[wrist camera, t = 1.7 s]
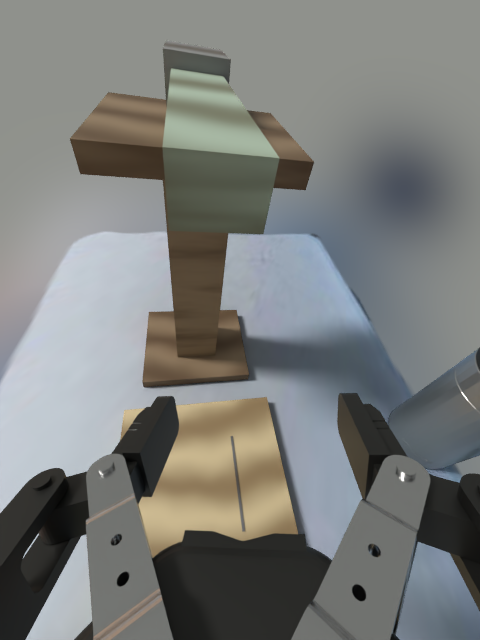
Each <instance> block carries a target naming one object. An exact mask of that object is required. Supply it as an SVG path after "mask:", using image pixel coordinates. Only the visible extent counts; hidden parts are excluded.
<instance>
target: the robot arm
mask: <svg viewBox="0 0 480 640" xmlns="http://www.w3.org/2000/svg"><path fill="white" fill-rule="evenodd" d="M337 422H338V430H339V434H340V437H341V440H342V443H343V445H344V448H345V451H346V454H347V456H348V459H349V462H350V465H351V468H352V470H353V473H354V476H355V479H356V481H357V484H358V487H359V490H360V492H361V495H362V498H363V499H362V500H361V501H360V503H359V505H358V507H357V509H356V511H355V513H354V516H353V518H352V520H351V522H350V524H349V526H348V528H347V530H346V533H345V535H344V537H343V539H342V541H341V543H340V545H339V547H338V550H337V552H336V554H335V556H334V558H333V560H331V559H330V558H328V557H327V556H326V555H324V554H322V553H321V552H319V551H317V550H315V549H313V548H310V547H308V546H306V542H305V534H279V533H273V534H269V535H266V536H262V537H258V538H254V539H250V540H246V541H241V540H237V539H235V538H232V537H229V536H226V535H223V534H220V533H217V532H214V531H196V530H185V532H184V536H183V540H182V542H178V543H176V544H173V545H171V546H169V547H167V548H165V549H164V550H162V551H161V552H159V553H158V554H157V555H156V556H154V557H153V555H152V552H151V548H150V545H149V541H148V538H147V534H146V530H145V527H144V523H143V519H142V516H141V512H140V509H139V502H140V500H141V498H142V497H152V496H153V493H154V491H155V488H156V486H157V483H158V481H159V479H160V476H161V474H162V471H163V469H164V466H165V464H166V462H167V459H168V457H169V454H170V452H171V450H172V447H173V445H174V442H175V440H176V437H177V435H178V431H179V419H178V414H177V409H176V404H175V399H174V397H173V396H162V397H157V398H156V399H155V401H154V403H153V404H152V406H151V407H146V408H145V409H144V410H143V411H141V412H140V413H139V414H138V415H137V417H136V418H135V420H134V421H133V424H131V426H130V427H129V429H128V430H127V432H126V433H125V434H124V436H123V437H122V439H121V440H120V442H119V443H118V445H117V446H116V448H115V449H114V451H113V452H112V454H110V455H107V456H104V457H102V458H100V459H99V460H97V461H96V462H95V463H94V464H92V466H91V467H90V468H89V470H88V471H87V472H84V473H80V474H76V475H73V476H69V477H66V475H65V473H64V471H63V470H62V469H60V468H53V469H49V470H46V471H43V472H41V473H39V474H38V475H36V476H35V477H33V478H32V479H31V480H29V481H28V482H27V483H26V484H25V486H24V487H23V488H22V489H21V490H20V491H19V493H18V494H17V495H16V496H15V497H14V498H13V499H12V501H11V502H10V503H9V504H8V505H7V506H6V508H5V509H4V510H3V511H2V512H1V513H0V640H25V639H26V637H27V636H28V634H29V632H30V630H31V628H32V626H33V624H34V623H35V621H36V619H37V617H38V615H39V613H40V611H41V610H42V608H43V606H44V604H45V602H46V600H47V598H48V597H49V595H50V593H51V591H52V589H53V587H54V585H55V583H56V582H57V580H58V578H59V576H60V574H61V572H62V570H63V569H64V567H65V565H66V563H67V561H68V559H69V557H70V556H71V554H72V552H73V550H74V548H75V546H76V544H77V543H78V541H79V539H80V537H81V536H82V535H85V534H87V549H88V563H89V577H90V592H91V606H92V622H91V623H90V624H89V625H88V626H87V627H86V628H85V629H84V630H83V631H82V632H81V633H80V634H79V635H78V636H77V637H76V638H75V639H74V640H399V639H398V637H397V636H396V632H397V628H398V624H399V620H400V615H401V611H402V607H403V602H404V598H405V593H406V589H407V585H408V581H409V577H410V572H411V568H412V564H413V560H414V556H415V552H416V548H417V544H418V542H421V543H424V544H426V545H429V546H432V547H435V548H438V549H441V550H443V551H446V552H449V553H450V554H451V556H452V558H453V560H454V562H455V564H456V566H457V568H458V570H459V572H460V574H461V576H462V578H463V579H464V581H465V583H466V585H467V587H468V589H469V591H470V593H471V595H472V597H473V599H474V601H475V603H476V605H477V607H478V609H479V611H480V475H479V474H466V475H464V476H463V477H462V478H461V480H460V483H458V482H454V481H450V480H446V479H443V478H439V477H436V476H433V475H430V474H428V472H427V470H426V469H425V468H427V469H434V470H436V469H441V468H444V467H447V466H450V465H453V464H456V463H459V462H462V461H465V460H467V459H470V458H473V457H476V456H479V455H480V348H478V349H477V350H476V351H474V352H473V353H471V354H470V355H469V356H467V357H466V358H465V359H463V360H462V361H460V362H459V363H458V364H457V365H455V366H454V367H452V368H451V369H450V370H448V371H447V372H446V373H444V374H443V375H441V376H440V377H439V378H437V379H436V380H435V381H433V382H432V383H431V384H429V385H428V386H426V387H425V388H424V389H422V390H421V391H419V392H418V393H417V394H415V395H414V396H412V397H411V398H410V399H408V400H407V401H405V402H404V403H403V404H401V405H400V406H399V407H397V408H396V409H395V410H393V411H392V413H391V414H390V417H389V426H388V424H387V423H386V422H385V419H384V418H383V416H382V414H381V413H380V411H378V410H377V409H376V408H375V407H373V406H372V405H371V404H363V403H362V401H361V400H360V398H359V396H358V394H357V393H340V394H339V398H338V420H337ZM38 533H39V536H38V537H37V539H36V540H35V542H34V543H33V545H32V546H31V548H30V549H29V551H28V552H27V554H26V555H25V557H24V558H23V556H24V554H25V552H26V550H27V549H28V547H29V546H30V545H31V543H32V542H33V540H34V539H35V537H36V536H37V534H38Z"/></svg>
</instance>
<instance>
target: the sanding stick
mask: <svg viewBox="0 0 480 640" xmlns="http://www.w3.org/2000/svg"><path fill="white" fill-rule="evenodd" d="M163 56H164V72H165V88H166V106H167V109H166V119H165V128H164V137H163V146H162V148H163V161H164V174H165V187H166V200H167V212H168V225H169V231H186V232H214V233H243V234H263V233H264V228H265V224H266V219H267V214H268V210H269V205H270V200H271V196H272V191H273V187H274V182H275V177H276V173H277V168H278V163H279V159H280V158H279V156H278V155H277V154H276V152H275V151H274V149H273V148H272V146H271V145H270V143H269V142H268V140H267V139H266V138H265V136H264V135H263V133H262V132H261V130H260V129H259V127H258V126H257V125H256V123H255V122H254V120H253V119H252V117H251V116H250V114H249V113H248V111H247V110H246V109H245V107H244V106H243V104H242V103H241V101H240V100H239V98H238V97H237V96H236V94H235V93H234V91H233V90H232V88H231V87H230V85H229V76H230V62H231V59H230V58H228V57H227V56H226V55H225V54H224V53H223V52H222V51H221V50H220V49H214V48H208V47H203V46H197V45H191V44H185V43H180V42H174V41H168V40H166V41H165V44H164V47H163Z"/></svg>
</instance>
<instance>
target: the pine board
mask: <svg viewBox="0 0 480 640" xmlns="http://www.w3.org/2000/svg"><path fill="white" fill-rule="evenodd" d="M144 409H145V408H143V409H132V410H124V417H123V424H122V432H121V439H122V437H123V436H124V434H125V433H126V432H127V430H128V429H129V427H130V426H131V424H133V421H134V420H135V418H136V417H137V415H138V414H139V413H140V412H141V411H143V410H144ZM176 409H177V414H178V419H179V431H178V435H177V437H176V440H175V442H174V445H173V447H172V450H171V452H170V454H169V457H168V459H167V462H166V464H165V466H164V469H163V471H162V474H161V476H160V479H159V481H158V483H157V486H156V488H155V491H154V493H153V496H152V497H142V498H141V500H140V502H139V509H140V512H141V516H142V519H143V523H144V527H145V530H146V534H147V538H148V541H149V545H150V548H151V552H152V555H153V557H154V556H156V555H157V554H158V553H159V552H161V551H162V550H164V549H165V548H167V547H169V546H171V545H173V544H176V543H178V542H182V540H183V536H184V532H185V530H196V531H214V532H217V533H220V534H223V535H226V536H229V537H232V538H235V539H237V540H241V541H246V540H250V539H254V538H258V537H262V536H266V535H269V534H273V533H279V534H298V531H297V526H296V522H295V518H294V513H293V509H292V505H291V500H290V496H289V492H288V487H287V483H286V479H285V474H284V470H283V466H282V461H281V457H280V453H279V448H278V444H277V440H276V435H275V431H274V427H273V422H272V418H271V414H270V409H269V405H268V401H267V397H264V398H253V399H242V400H231V401H220V402H209V403H198V404H187V405H176ZM121 439H120V440H121Z"/></svg>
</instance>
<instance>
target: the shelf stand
mask: <svg viewBox="0 0 480 640" xmlns="http://www.w3.org/2000/svg"><path fill="white" fill-rule="evenodd" d="M166 109H167V106H166V100H163V99H156V98H148V97H140V96H132V95H125V94H117V93H108V94H107V95H106V96H105V97H104V98H103V100H102V101H101V102H100V103H99V104H98V106H97V107H96V108H95V109H94V110H93V112H92V113H91V114H90V115H89V117H88V118H87V119H86V120H85V121H84V122H83V124H82V125H81V126H80V127H79V128H78V130H77V131H76V132H75V133H74V134H73V136H72V137H71V138H70V141H71V144H72V147H73V151H74V154H75V157H76V160H77V164H78V167H79V171H80V173H81V174H87V175H101V176H115V177H130V178H143V179H158V180H163V186H164V199H165V210H166V222H167V235H168V247H169V259H170V271H171V283H172V296H173V308H174V311H172V312H149V318H148V329H147V339H146V350H145V361H144V371H143V386H144V387H152V386H165V385H178V384H192V383H205V382H218V381H231V380H244V379H248V377H249V372H248V366H247V361H246V356H245V351H244V346H243V341H242V336H241V331H240V326H239V321H238V316H237V311H236V310H220V305H221V296H222V286H223V277H224V267H225V258H226V248H227V239H228V233H214V232H186V231H169V225H168V212H167V200H166V187H165V174H164V161H163V148H162V146H163V137H164V128H165V119H166ZM247 111H248V110H247ZM248 113H249V114H250V116H251V117H252V119H253V120H254V122H255V123H256V125H257V126H258V127H259V129H260V130H261V132H262V133H263V135H264V136H265V138H266V139H267V140H268V142H269V143H270V145H271V146H272V148H273V149H274V151H275V152H276V154H277V155H278V156H279V158H280V159H279V163H278V168H277V173H276V177H275V182H274V187H273V188H283V189H297V190H306V187H307V183H308V180H309V177H310V174H311V170H312V167H313V164H314V161H312V159H311V158H310V157H309V156H308V155H307V154H306V153H305V151H304V150H303V149H302V148H301V147H300V146H299V145H298V143H297V142H296V141H295V140H294V139H293V138H292V137H291V136H290V135H289V133H288V132H287V131H286V130H285V129H284V128H283V127H282V126H281V125H280V123H279V122H278V121H277V120H276V119H275V118H274V117H273V116H272V115H271V113H264V112H255V111H248Z"/></svg>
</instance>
